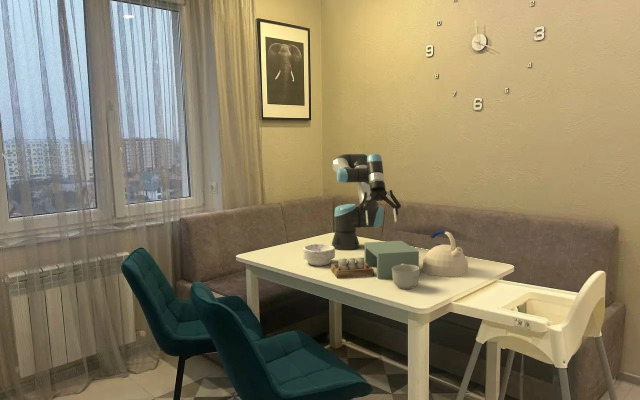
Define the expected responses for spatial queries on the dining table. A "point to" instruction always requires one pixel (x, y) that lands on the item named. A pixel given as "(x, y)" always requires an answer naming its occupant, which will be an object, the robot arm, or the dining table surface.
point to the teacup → (405, 276)
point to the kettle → (445, 259)
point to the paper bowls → (319, 254)
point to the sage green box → (389, 256)
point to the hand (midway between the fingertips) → (381, 223)
